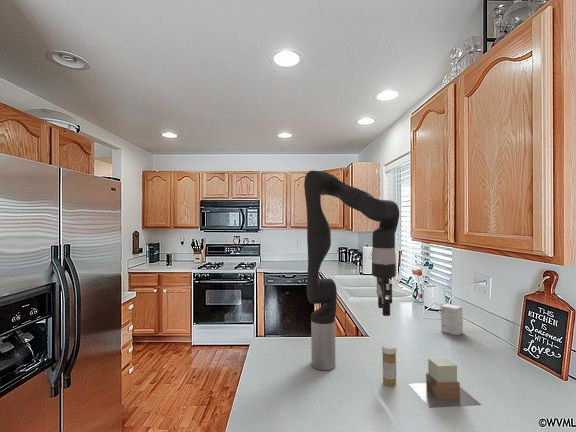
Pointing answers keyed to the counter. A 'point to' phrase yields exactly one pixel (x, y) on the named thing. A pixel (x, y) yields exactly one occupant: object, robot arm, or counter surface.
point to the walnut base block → (443, 389)
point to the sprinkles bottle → (389, 365)
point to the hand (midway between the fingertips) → (383, 311)
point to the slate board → (433, 402)
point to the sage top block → (442, 370)
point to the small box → (451, 319)
